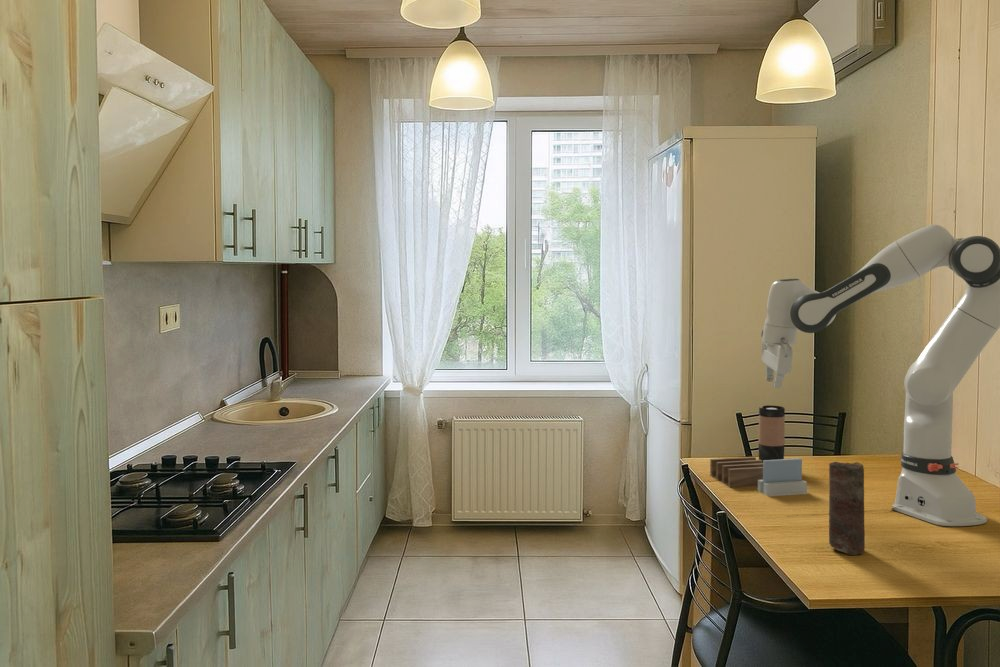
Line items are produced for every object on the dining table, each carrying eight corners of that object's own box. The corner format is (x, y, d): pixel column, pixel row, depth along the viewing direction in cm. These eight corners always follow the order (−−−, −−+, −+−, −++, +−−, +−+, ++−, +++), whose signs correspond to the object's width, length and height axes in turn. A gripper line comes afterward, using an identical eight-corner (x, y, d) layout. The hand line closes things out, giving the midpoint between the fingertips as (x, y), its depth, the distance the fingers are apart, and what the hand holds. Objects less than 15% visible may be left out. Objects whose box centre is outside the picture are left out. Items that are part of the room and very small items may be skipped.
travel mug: (787, 474, 248) (788, 409, 246) (762, 474, 248) (763, 409, 246) (779, 467, 255) (780, 405, 254) (755, 468, 256) (755, 405, 254)
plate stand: (808, 497, 223) (808, 482, 223) (768, 499, 221) (768, 485, 221) (795, 490, 230) (795, 476, 230) (755, 492, 228) (756, 478, 228)
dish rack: (776, 487, 233) (776, 467, 232) (730, 490, 230) (730, 470, 230) (753, 475, 246) (753, 456, 246) (709, 478, 244) (709, 458, 244)
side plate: (801, 490, 226) (802, 459, 225) (764, 493, 224) (765, 461, 223) (799, 489, 227) (799, 458, 226) (762, 492, 225) (762, 460, 224)
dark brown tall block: (822, 549, 182) (823, 462, 180) (836, 541, 187) (837, 456, 186) (856, 558, 177) (858, 468, 175) (869, 549, 182) (871, 462, 180)
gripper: (800, 342, 215) (794, 392, 217) (782, 332, 236) (776, 378, 238) (776, 339, 216) (770, 390, 218) (760, 330, 236) (754, 376, 238)
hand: (773, 384), depth 228 cm, fingers open, 8 cm apart
